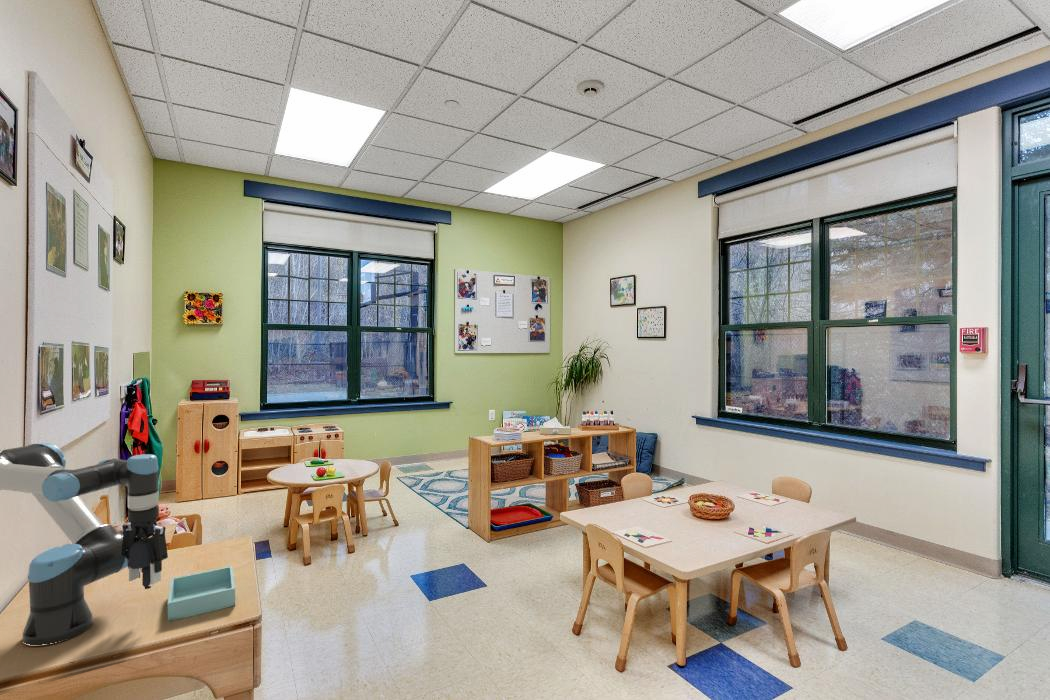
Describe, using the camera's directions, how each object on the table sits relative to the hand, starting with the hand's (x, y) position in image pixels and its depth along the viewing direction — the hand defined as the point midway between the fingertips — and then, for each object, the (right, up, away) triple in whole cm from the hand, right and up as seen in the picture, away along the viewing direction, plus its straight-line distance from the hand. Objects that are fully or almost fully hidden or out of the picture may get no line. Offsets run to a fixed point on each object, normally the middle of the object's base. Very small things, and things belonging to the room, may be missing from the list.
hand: (144, 580), depth 159 cm
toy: (0, -2, 0) cm, 2 cm away
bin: (+12, -11, +10) cm, 18 cm away
